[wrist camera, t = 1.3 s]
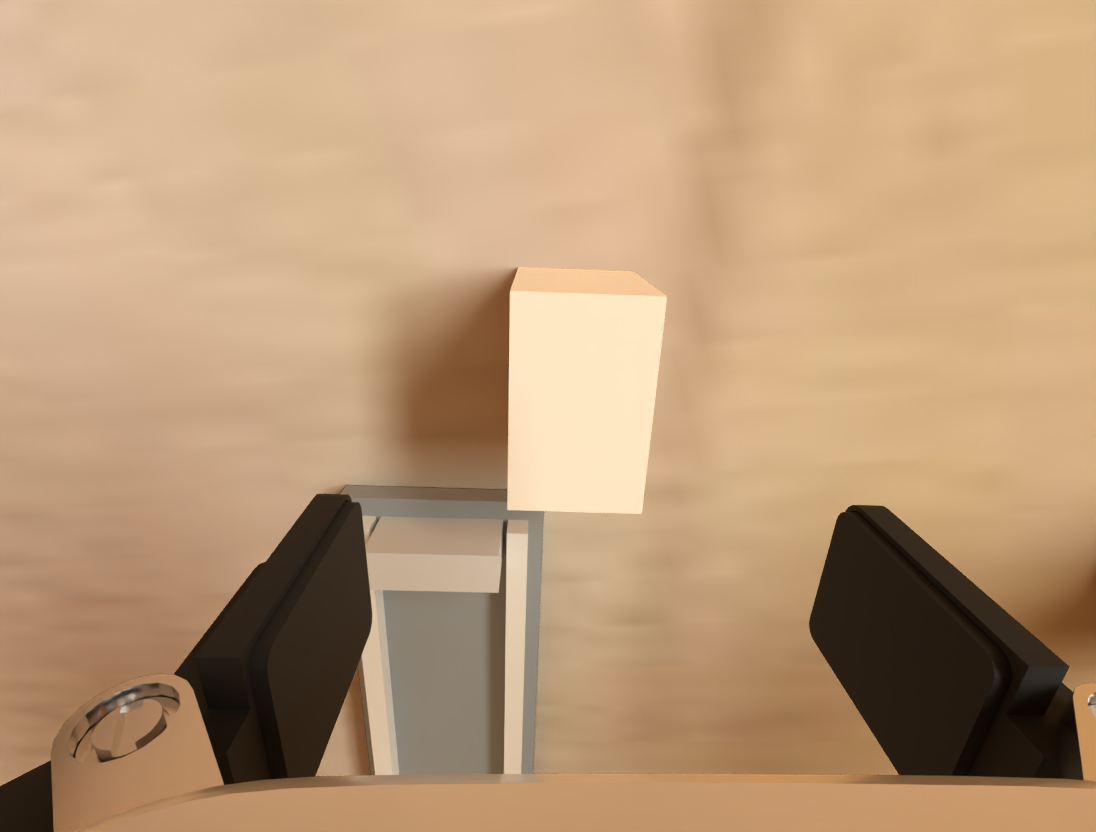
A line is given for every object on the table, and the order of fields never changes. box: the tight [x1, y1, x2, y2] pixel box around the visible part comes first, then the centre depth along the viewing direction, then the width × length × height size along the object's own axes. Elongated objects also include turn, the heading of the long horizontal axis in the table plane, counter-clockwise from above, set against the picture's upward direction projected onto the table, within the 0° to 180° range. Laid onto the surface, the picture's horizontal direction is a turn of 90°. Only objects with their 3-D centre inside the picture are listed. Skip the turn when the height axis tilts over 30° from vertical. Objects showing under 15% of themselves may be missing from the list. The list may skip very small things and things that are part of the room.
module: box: [507, 267, 667, 514], centre depth 22 cm, size 5×8×7 cm, turn 178°
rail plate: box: [341, 485, 544, 775], centre depth 29 cm, size 10×22×4 cm, turn 178°
